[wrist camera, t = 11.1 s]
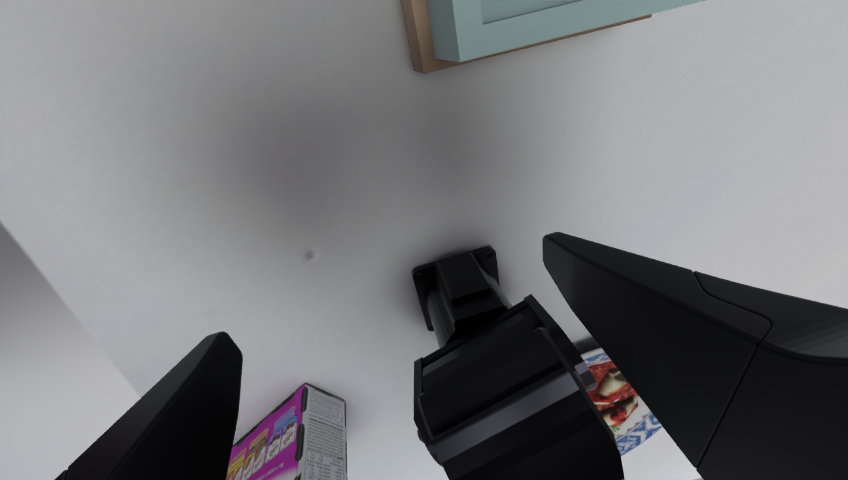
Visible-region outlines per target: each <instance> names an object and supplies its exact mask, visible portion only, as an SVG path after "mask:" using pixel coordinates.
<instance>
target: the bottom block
mask: <svg viewBox="0 0 848 480" xmlns="http://www.w3.org/2000/svg"><path fill="white" fill-rule="evenodd" d="M401 4H402V9H403V14H404V19H405V24H406V30H407V35H408V40H409V45H410V50H411V56H412V61H413V66H414V70H416V71H419V72H422V73H428V72H432V71H436V70H440V69H444V68H448V67H452V66H456V65H460V64H464V63H468V62H472V61H476V60H480V59H484V58H488V57H492V56H496V55H500V54H505V53H509V52H513V51H517V50H521V49H525V48H529V47H533V46H537V45H541V44H545V43H549V42H553V41H557V40H561V39H565V38H569V37H573V36H577V35H581V34H586V33H590V32H594V31H598V30H602V29H606V28H610V27H614V26H618V25H622V24H626V23H630V22H634V21H638V20H642V19H646V18H650V17H651V16H652V14H649V15H645V16H642V17H638V18H634V19H630V20H626V21H622V22H618V23H614V24H610V25H606V26H602V27H598V28H594V29H590V30H586V31H582V32H578V33H574V34H570V35H566V36H562V37H558V38H554V39H550V40H546V41H542V42H539V43H535V44H531V45H527V46H523V47H519V48H515V49H511V50H507V51H503V52H499V53H495V54H491V55H487V56H483V57H479V58H475V59H471V60H467V61H463V62H455V61H447V60H439V59H435V53H434V47H433V41H432V35H431V28H430V22H429V16H428V10H427V4H426V0H401Z"/></svg>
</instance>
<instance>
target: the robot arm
mask: <svg viewBox="0 0 848 480" xmlns="http://www.w3.org/2000/svg"><path fill="white" fill-rule="evenodd" d="M489 252H491V253H490V254H489V255H487V253H489ZM543 262H544V265H545V267H546V269H547V270H548V272H549V274H550V275H551V277H552V279H553V280H554V282H555V284H556V285H557V287H558V289H559V290H560V292H561V293H562V295H563V297H564V298H565V300H566V302H567V303H568V305H569V306H570V308H571V309H572V311H573V312H574V313H575V315H576V316H577V317H578V319H579V320H580V321H581V322H582V324H583V325H584V326H585V328H586V329H587V330H588V331H589V333H590V334H591V335H592V337H593V338H594V339H595V340H596V342H597V343H598V344H599V345H600V347H601V348H602V349H603V351H604V352H605V353H606V354H607V356H608V357H609V358H610V360H611V361H612V362H613V363H614V365H615V366H616V367H617V369H618V370H619V371H620V372H621V374H622V375H623V376H624V378H625V379H626V380H627V381H628V383H629V384H630V385H631V387H632V388H633V389H634V390H635V392H636V393H637V394H638V396H639V397H640V398H641V399H642V401H643V402H644V403H645V405H646V406H647V407H648V408H649V410H650V411H651V412H652V414H653V415H654V416H655V417H656V419H657V420H658V421H659V422H660V424H661V425H662V426H663V428H664V429H665V430H666V431H667V433H668V434H669V435H670V437H671V438H672V439H673V440H674V442H675V443H676V444H677V446H678V447H679V448H680V449H681V451H682V452H683V453H684V455H685V456H686V457H687V458H688V460H689V461H690V462H691V464H692V465H693V466H694V467H695V468H697V469H696V470H697V472H698V473H699V474H700V475H701V477H702V478H703V479H704V480H848V309H846V308H842V307H837V306H833V305H829V304H824V303H820V302H816V301H811V300H807V299H803V298H798V297H794V296H790V295H785V294H781V293H777V292H773V291H768V290H764V289H760V288H756V287H752V286H748V285H744V284H740V283H736V282H732V281H729V280H725V279H721V278H718V277H714V276H711V275H707V274H704V273H700V272H697V271H694V272H693V271H692V270H690V269H686V268H683V267H679V266H676V265H672V264H669V263H665V262H662V261H658V260H655V259H651V258H648V257H644V256H641V255H637V254H634V253H630V252H627V251H623V250H620V249H616V248H613V247H609V246H606V245H603V244H599V243H596V242H592V241H589V240H585V239H582V238H578V237H575V236H571V235H568V234H564V233H561V232H554V233H551V234H548V235H545V236H544V237H543ZM418 273H421V275H418V276H417V274H418ZM412 276H413V280H414V283H415V287H416V290H417V294H418V297H419V301H420V304H421V308H422V311H423V315H424V318H425V322H426V325H427V328H428V330H429V331H435V334H436V337H437V341H438V344H439V347H440V349H438V350H437V351H435V352H433V353H431V354H430V355H428V356H426V357H424V358H420V359H418V360H416V361H414V421H415V424H416V426H417V428H418V431H417V433H418V437H419V439H420V440H421V441H422V442H423V443H425V445H426V447H427V449H428V451H429V452H430V454H431V456H432V457H433V458H434V460H435V461H436V462H437V463H438V464H439V465H440V466H442V467H443V468H444V470H445V472H446V474H447V476H448V478H449V480H624V473H623V467H622V462H621V456H620V452H619V450H618V448H617V446H616V440H615V436H614V434H613V432H612V430H611V429H610V427H609V426H608V424H607V423H606V421H605V420H604V418H603V416H602V415H601V413H600V412H599V410H598V409H597V407H596V406H595V404H594V402H593V401H592V399H591V398H590V396H589V395H588V393H587V391H590V390H591V389H593V388H595V387H597V386H598V385H597V382H596V380H595V378H594V376H593V374H592V373H591V371H590V369H589V368H588V366H587V365H586V363H585V361H584V360H583V358H582V357H581V355H580V354H579V352H578V351H577V349H576V348H575V346H574V345H573V344H572V342H571V341H570V339H569V338H568V337H567V335H566V334H565V333H564V331H563V330H562V329H561V328H560V326H559V325H558V324H557V323H556V322H555V321H554V320H553V318H552V317H551V316H550V315H549V314H548V313H547V312H546V310H545V309H544V308H543V307H542V306H541V305H540V304H539V302H538V301H537V300H536V299H535V298H534V297H533V296H532V294H530V295H529V296H527V297H525V298H524V300H523V301H522V302H520V303H518V304H516V305H515V306H513V307H512V305H511V304H510V302H509V301H508V299H507V297H506V296H505V294H504V293H503V291H502V290H501V288H500V287H499V278H498V269H497V259H496V252H495V250H494V249H493V248H492V247H485V248H481V249H478V250H474V251H471V252H467V253H463V254H460V255H456V256H453V257H450V258H446V259H443V260H440V261H437V262H434V263H431V264H427V265H424V266H421V267H417V268H415V269H414V270H413V271H412ZM431 325H433V326H431ZM242 362H243V357H242V353H241V351H240V349H239V348H238V346H237V345H236V344H235V343H234V341H233V340H232V339H231V337H230V336H229V335H228V334H227V333H226V332H218V333H215V334H211V335H208V336H207V337H205V338H204V339H203V340H202V341H201V342H200V343H199V344H198V345H197V346H196V347H195V348H194V349H193V350H192V351H190V352H189V353H188V354H187V355H186V356H185V357H184V358H183V359H182V360H181V361H180V362H179V363H178V364H177V365H176V366H175V367H174V368H172V369H171V370H170V371H169V372H168V373H167V374H166V375H165V376H164V377H163V378H162V379H161V380H160V381H159V382H158V383H157V384H156V385H154V386H153V387H152V388H151V389H150V390H149V391H148V392H147V393H146V394H145V395H144V396H143V397H142V398H141V399H140V400H139V401H138V402H136V403H135V405H134V406H132V407H131V408H130V409H129V410H128V411H127V412H126V413H125V414H124V415H123V416H122V417H121V418H120V419H118V420H117V421H116V422H115V423H114V424H113V425H112V426H111V427H110V428H109V429H108V430H107V431H106V432H105V433H104V434H103V435H102V436H100V437H99V438H98V439H97V440H96V441H95V442H94V443H93V444H92V445H91V446H90V447H89V448H88V449H87V450H86V451H85V452H84V453H82V454H81V455H80V456H79V457H78V458H77V459H76V460H75V461H74V462H73V463H72V464H71V465H70V466H69V467H68V470H65V471H63V472H62V473H61V474H60V475H59V476H58V477H57V478H56V479H55V480H226V478H227V473H228V467H229V462H230V457H231V451H232V446H233V441H234V435H235V430H236V425H237V419H238V412H239V403H240V389H241V376H242Z"/></svg>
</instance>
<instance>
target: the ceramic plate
mask: <svg viewBox="0 0 848 480" xmlns="http://www.w3.org/2000/svg"><path fill="white" fill-rule="evenodd" d="M581 357H582V358H583V360H584V361H585V363H586V365H587V366H588V368H589V369H590V371H591V373H592V374H593V376H594V378H595V380H596V382H597V385H598V386H597V387H595V388H593V389H591V390H590V391H587V393H588V395H589V396H590V398H591V399H592V401H593V402H594V404H595V406H596V407H597V409H598V410H599V412H600V413H601V415H602V416H603V418H604V420H605V421H606V423H607V424H608V426H609V427H610V429H611V430H612V432H613V434H614V436H615V440H616V446H617V448H618V450H619V452H620V456H622V455H624V454H626V453H628V452H630V451H631V450H633V449H634V448H636V447H637V446H639V445H640V444H642V443H643V442H644V441H646V440H647V439H648V438H650V437H651V436H652V435H654V434H655V433H656V432H657V431H658V430H659V429H661V428H662V427H663V426H662V425H661V424H660V422H659V421H658V420H657V419H656V417H655V416H654V415H653V414H652V412H651V411H650V410H649V408H648V407H647V406H646V405H645V403H644V402H643V401H642V399H641V398H640V397H639V396H638V394H637V393H636V392H635V390H634V389H633V388H632V387H631V385H630V384H629V383H628V381H627V380H626V379H625V378H624V376H623V375H622V374H621V372H620V371H619V370H618V369H617V367H616V366H615V365H614V363H613V362H612V361H611V360H610V358H609V357H608V356H607V354H606V353H605V352H604V351H603V349H602V348H598V349H595V350H592V351H589V352H586V353H584V354H582V355H581Z"/></svg>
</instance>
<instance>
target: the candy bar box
mask: <svg viewBox="0 0 848 480" xmlns="http://www.w3.org/2000/svg"><path fill="white" fill-rule="evenodd" d="M346 447H347V444H346V404H345V401H344V400H342V399H340V398H338V397H336V396H333V395H330V394H328V393H325V392H323V391H321V390H318V389H316V388H314V387H312V386H309V385H307V384H304V385H303V386H301V387H300V388H299V389H298V390H297V391H296V392H295V393H293V394H292V395H291V396H290V397H289V398H288V399H287V400H286V401H285V402H283V403H282V404H281V405H280V406H279V407H278V408H277V409H276V410H274V411H273V412H272V413H271V414H270V415H269V416H268V417H267V418H266V419H264V420H263V421H262V422H261V423H260V424H259V425H258V426H257V427H255V428H254V429H253V430H252V431H251V432H250V433H249V434H247V435H246V436H245V437H244V438H243V439H242V440H241V441H239V442H238V443H237V444H236V445H235V446H234V447H233V448H232V451H231V457H230V462H229V467H228V473H227V478H226V480H347V479H348V478H347V448H346Z"/></svg>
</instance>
